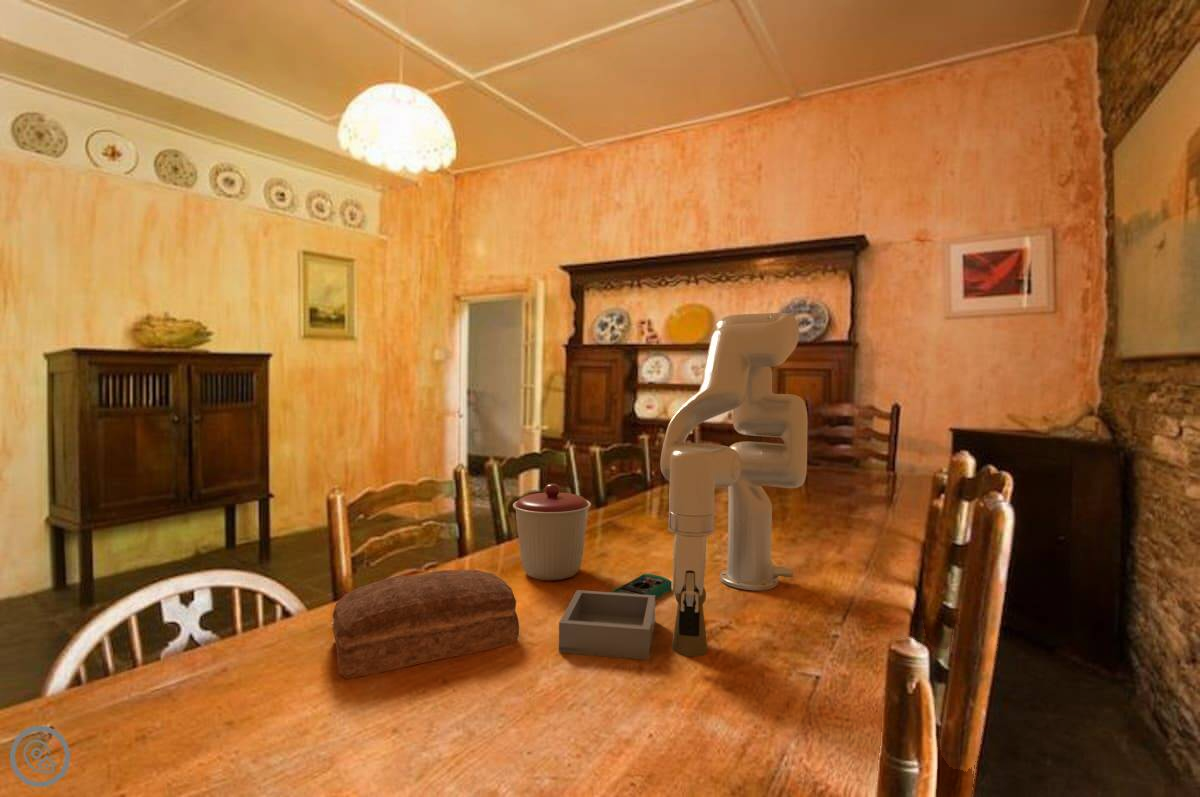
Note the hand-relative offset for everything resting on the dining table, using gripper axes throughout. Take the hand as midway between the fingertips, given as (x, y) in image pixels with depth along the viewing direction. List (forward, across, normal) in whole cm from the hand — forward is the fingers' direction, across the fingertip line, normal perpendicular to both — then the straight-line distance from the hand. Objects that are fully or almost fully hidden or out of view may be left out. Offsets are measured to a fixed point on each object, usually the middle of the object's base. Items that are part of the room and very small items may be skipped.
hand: (689, 622), depth 98 cm
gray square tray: (+4, -2, -14) cm, 15 cm away
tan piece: (+5, 0, 0) cm, 5 cm away
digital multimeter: (+5, -22, -10) cm, 25 cm away
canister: (+4, -32, -32) cm, 46 cm away
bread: (+5, +5, -45) cm, 45 cm away
